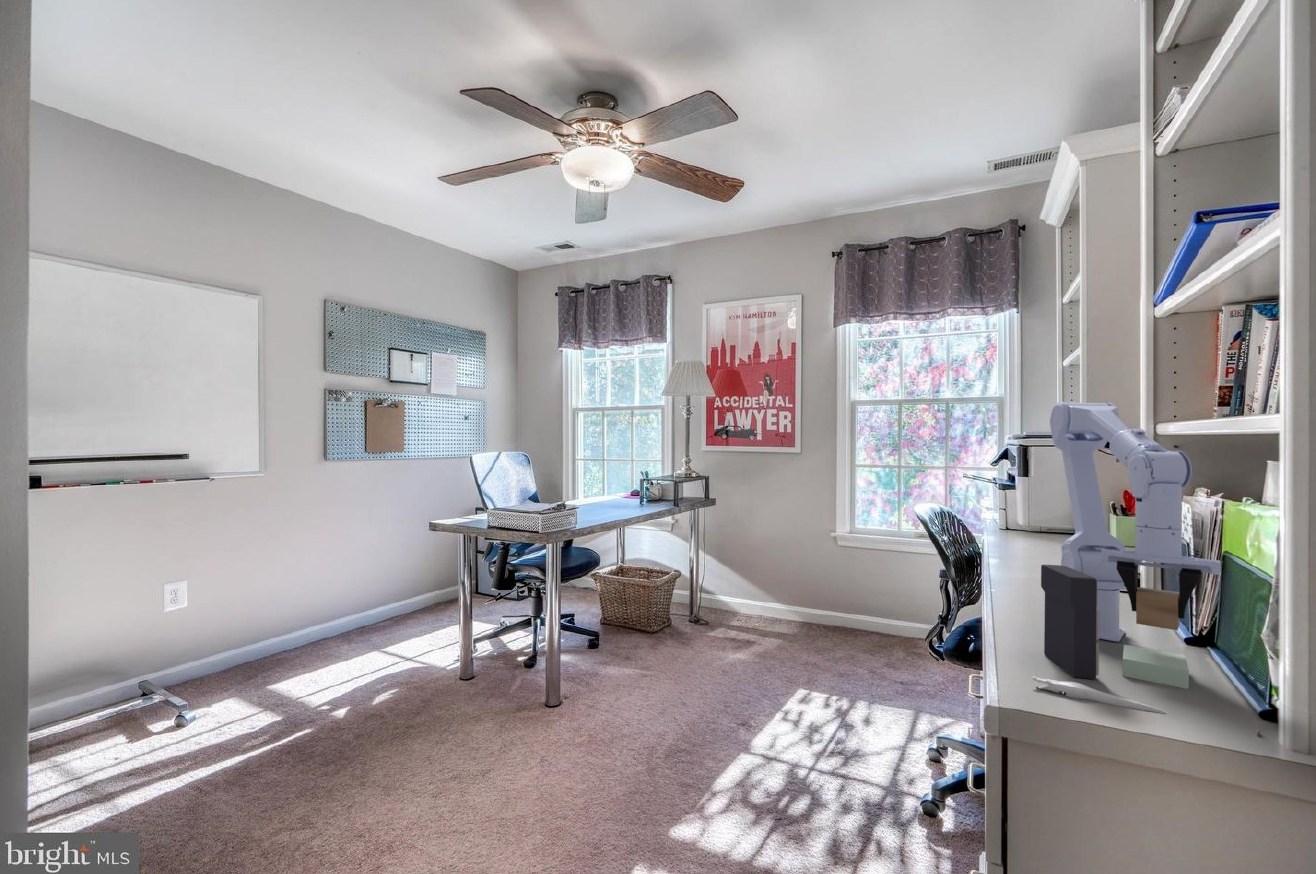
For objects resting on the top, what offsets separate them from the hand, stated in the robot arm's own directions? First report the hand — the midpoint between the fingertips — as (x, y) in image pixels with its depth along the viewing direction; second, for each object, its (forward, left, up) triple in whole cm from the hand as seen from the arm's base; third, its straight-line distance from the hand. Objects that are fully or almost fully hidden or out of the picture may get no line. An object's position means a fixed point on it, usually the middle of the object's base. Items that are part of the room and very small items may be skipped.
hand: (1157, 613), depth 97 cm
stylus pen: (+22, -5, -9) cm, 25 cm away
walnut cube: (0, 0, -2) cm, 2 cm away
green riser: (+3, 0, -9) cm, 10 cm away
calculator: (+10, -10, -9) cm, 16 cm away
